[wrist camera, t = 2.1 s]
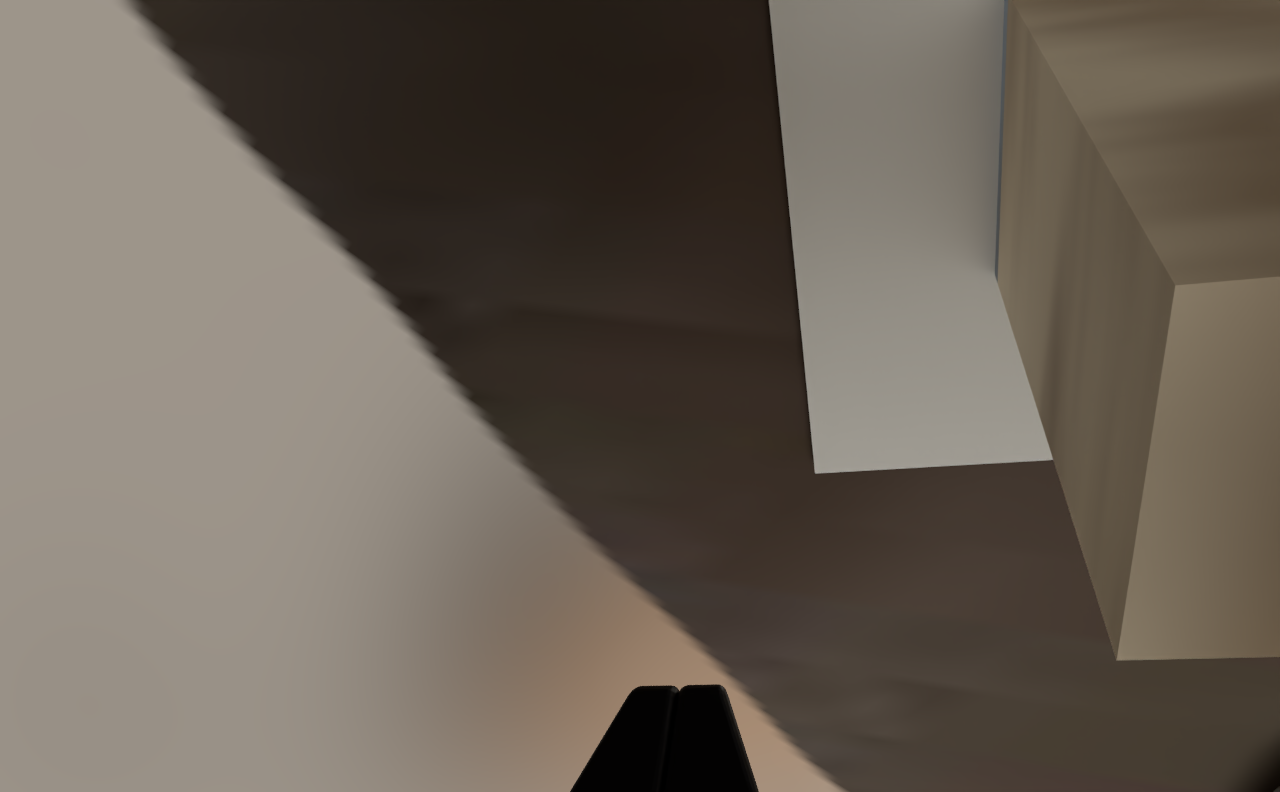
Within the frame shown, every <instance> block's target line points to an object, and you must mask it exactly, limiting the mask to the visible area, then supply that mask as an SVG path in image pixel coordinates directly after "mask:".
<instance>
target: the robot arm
mask: <svg viewBox="0 0 1280 792" xmlns="http://www.w3.org/2000/svg"><path fill="white" fill-rule="evenodd" d="M570 792H758V788H757V785H756V782H755V778H754V775H753V772H752V769H751V766H750V763H749V760H748V757H747V754H746V751H745V747H744V744H743V741H742V738H741V735H740V732H739V729H738V726H737V722H736V719H735V716H734V713H733V710H732V707H731V704H730V700H729V697H728V694H727V692H726V690H725V688H724V687H723V686H721V685H687V686H684V687H683V688H682V689H681V690H680V691H679V690H678V689H677V688H676V687H675V686H640V687H637V688H635V689H634V690H632V692H631V693H630V694H629V695H628V697H627V699H626V700H625V702H624V703H623V705H622V707H621V709H620V710H619V712H618V713H617V715H616V717H615V718H614V720H613V722H612V723H611V725H610V727H609V728H608V730H607V732H606V733H605V735H604V736H603V738H602V740H601V741H600V743H599V745H598V747H597V748H596V750H595V751H594V753H593V755H592V756H591V758H590V760H589V761H588V763H587V765H586V766H585V768H584V770H583V771H582V773H581V775H580V776H579V778H578V780H577V781H576V783H575V784H574V786H573V788H572V789H571V791H570Z"/></svg>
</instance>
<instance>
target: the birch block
mask: <svg viewBox="0 0 1280 792" xmlns="http://www.w3.org/2000/svg"><path fill="white" fill-rule="evenodd" d="M995 277H996V280H997V283H998V286H999V290H1000V293H1001V296H1002V299H1003V302H1004V305H1005V309H1006V312H1007V315H1008V318H1009V321H1010V324H1011V328H1012V331H1013V334H1014V337H1015V340H1016V343H1017V347H1018V350H1019V353H1020V356H1021V359H1022V362H1023V366H1024V369H1025V372H1026V375H1027V378H1028V381H1029V385H1030V388H1031V391H1032V394H1033V397H1034V400H1035V404H1036V407H1037V410H1038V413H1039V416H1040V419H1041V423H1042V426H1043V429H1044V432H1045V435H1046V438H1047V442H1048V445H1049V448H1050V451H1051V454H1052V457H1053V461H1054V464H1055V467H1056V470H1057V473H1058V476H1059V480H1060V483H1061V486H1062V489H1063V492H1064V495H1065V499H1066V502H1067V505H1068V508H1069V511H1070V514H1071V518H1072V521H1073V524H1074V527H1075V530H1076V533H1077V537H1078V540H1079V543H1080V546H1081V549H1082V552H1083V556H1084V559H1085V562H1086V565H1087V568H1088V571H1089V575H1090V578H1091V581H1092V584H1093V587H1094V590H1095V593H1096V597H1097V600H1098V603H1099V606H1100V609H1101V612H1102V616H1103V619H1104V622H1105V625H1106V628H1107V631H1108V635H1109V638H1110V641H1111V644H1112V647H1113V650H1114V654H1115V657H1116V660H1159V659H1205V658H1251V657H1280V0H1004V25H1003V53H1002V82H1001V111H1000V139H999V168H998V196H997V225H996V254H995Z"/></svg>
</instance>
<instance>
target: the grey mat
mask: <svg viewBox="0 0 1280 792" xmlns="http://www.w3.org/2000/svg"><path fill="white" fill-rule="evenodd" d="M769 8H770V18H771V28H772V38H773V49H774V59H775V69H776V79H777V89H778V100H779V110H780V120H781V130H782V141H783V151H784V161H785V171H786V181H787V192H788V202H789V212H790V222H791V233H792V243H793V253H794V263H795V273H796V284H797V294H798V304H799V314H800V325H801V335H802V345H803V355H804V365H805V376H806V386H807V396H808V406H809V417H810V427H811V437H812V447H813V457H814V468H815V474H816V473H833V472H851V471H868V470H886V469H903V468H921V467H938V466H955V465H973V464H990V463H1008V462H1025V461H1043V460H1053V457H1052V454H1051V451H1050V448H1049V445H1048V442H1047V438H1046V435H1045V432H1044V429H1043V426H1042V423H1041V419H1040V416H1039V413H1038V410H1037V407H1036V404H1035V400H1034V397H1033V394H1032V391H1031V388H1030V385H1029V381H1028V378H1027V375H1026V372H1025V369H1024V366H1023V362H1022V359H1021V356H1020V353H1019V350H1018V347H1017V343H1016V340H1015V337H1014V334H1013V331H1012V328H1011V324H1010V321H1009V318H1008V315H1007V312H1006V309H1005V305H1004V302H1003V299H1002V296H1001V293H1000V290H999V286H998V283H997V280H996V277H995V254H996V225H997V196H998V168H999V139H1000V111H1001V82H1002V53H1003V25H1004V0H769Z"/></svg>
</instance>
